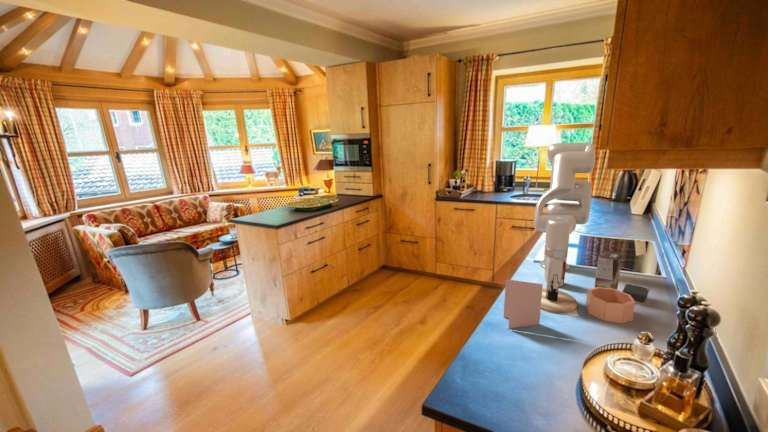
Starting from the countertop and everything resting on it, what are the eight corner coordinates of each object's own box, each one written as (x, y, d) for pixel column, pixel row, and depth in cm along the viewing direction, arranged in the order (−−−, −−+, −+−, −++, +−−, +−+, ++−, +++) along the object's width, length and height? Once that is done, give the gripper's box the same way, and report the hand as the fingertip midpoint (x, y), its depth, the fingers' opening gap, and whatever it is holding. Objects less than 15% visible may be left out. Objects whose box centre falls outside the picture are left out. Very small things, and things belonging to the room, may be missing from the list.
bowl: (583, 302, 125) (585, 285, 123) (624, 307, 120) (626, 290, 119) (590, 319, 113) (592, 301, 112) (636, 326, 108) (639, 307, 107)
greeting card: (539, 323, 112) (542, 283, 108) (539, 335, 105) (543, 292, 102) (503, 317, 116) (505, 278, 113) (501, 328, 110) (504, 287, 106)
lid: (526, 287, 136) (527, 274, 134) (573, 293, 130) (574, 279, 128) (527, 307, 121) (528, 293, 119) (580, 315, 114) (582, 300, 113)
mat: (527, 291, 135) (527, 290, 135) (571, 297, 129) (571, 295, 129) (528, 310, 121) (529, 309, 121) (578, 317, 115) (578, 316, 115)
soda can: (566, 288, 136) (568, 261, 134) (548, 287, 138) (550, 261, 135) (560, 282, 143) (563, 256, 140) (544, 281, 144) (546, 255, 141)
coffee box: (612, 299, 127) (617, 260, 123) (593, 294, 131) (597, 256, 127) (617, 291, 133) (622, 253, 129) (599, 286, 137) (603, 250, 134)
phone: (648, 288, 134) (644, 301, 123) (647, 290, 134) (644, 303, 123) (625, 283, 139) (620, 295, 128) (625, 285, 139) (620, 297, 128)
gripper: (542, 244, 129) (539, 286, 134) (546, 259, 114) (542, 306, 119) (564, 245, 127) (560, 289, 131) (570, 261, 112) (565, 309, 116)
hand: (551, 297), depth 125 cm, fingers closed on lid, 4 cm apart
